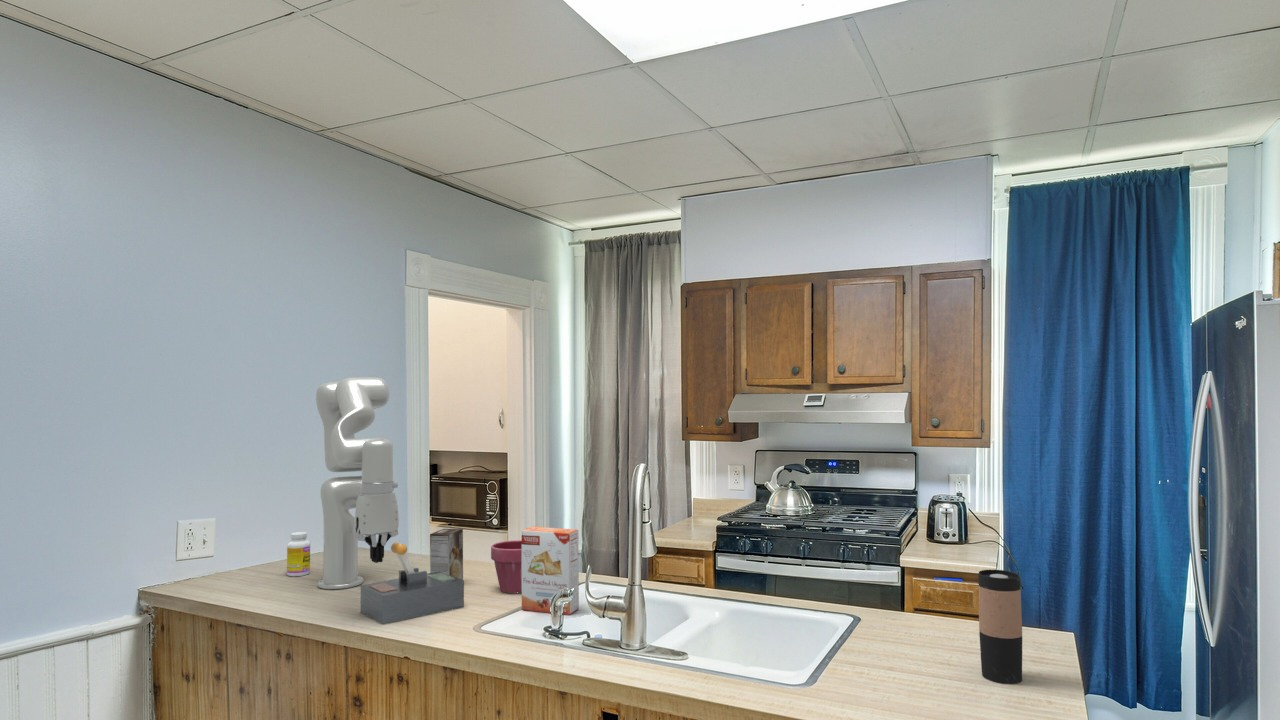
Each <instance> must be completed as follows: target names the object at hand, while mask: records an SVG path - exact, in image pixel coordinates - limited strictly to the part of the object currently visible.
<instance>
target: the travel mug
mask: <svg viewBox="0 0 1280 720" xmlns="http://www.w3.org/2000/svg"><path fill="white" fill-rule="evenodd" d="M977 575H978V576H977V577H978V578H977V579H978V583H977V584H978V623H979V624H978V631H979V633H978V634H979V645H980V648H979V650H980V663H981V664H980V665H981V667H980V668H981V675H982V678H984V679H986V680H988V681H989V682H994V683H997V684H1004V685H1015V684H1020V683H1021V682H1022V680H1023V618H1022V615H1023V614H1022V592H1021V589H1022V588H1021V576H1020V574H1019V573H1016V572H1014V571H1008V570H1004V569H982V570H979V571H978V573H977Z"/></svg>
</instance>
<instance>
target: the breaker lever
mask: <svg viewBox="0 0 1280 720" xmlns="http://www.w3.org/2000/svg"><path fill="white" fill-rule="evenodd" d="M390 550H391V551H392V553H394V554H396V555H397V558H398V559H399V562H400V564H401V565H402V568H403V570H405V572H406V574H410V573H415V572H414V569H413V568H414V567H413V565H412V563H411V561H410V558H409V557H408V555H407V551H408V547H407V546H406V545H405V544H403V543H400V542H397V541H396V542H393V543H392V544H391V546H390Z"/></svg>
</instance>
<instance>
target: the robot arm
mask: <svg viewBox="0 0 1280 720" xmlns="http://www.w3.org/2000/svg"><path fill="white" fill-rule="evenodd" d="M315 394H316V395H315V402H316V407H317V412H318V414H319V416H320V419H321V423H322V427H323V434H324V435H323V436H324V439H323V441H324V442H323V443H324V446H323V447H324V462H325V463H324V464H325V467H326V468H327V471H329V472H333V473H353V472H361V475H353V476H352V475H348V476H337V477H336V476H335V477H332V478H328V479H327V480H325V481H324V482H323V483H322V484H321V487H320V491H319V492H320V500H321V507H322V517H323V568H322V569H323V573H322V574H323V578H322V579H320V580H319V581H317V587H318V588H320V589H324V590H343V589H348V588H349V589H350V588H354V587H356V586H361V585H363V583H364V578H363V577H362V576H360V575H359V573H358V570H359V569H358V568H359V566H358V564H359V562H358V561H359V556H358V555H359V550H358V549H359V541H361V542H365V543H366V544H368V546H369V551H370V552H369V558H370V560H371V562H372V563H375V564H377V563H383V560H384V558H385V546H386V545H387V543H388V541H389V540H390V539H391V538H393V537H397V536H398V535H399V521H400V518H399V505H398V501H397V495H396V493H395V492H394V490H395V489H396V488H398V486H399V484H398V482H394V475H393V474H394V446H393V443H392V441H390V440H389V439H387V438H385V437H360V438H359V437H358V438H357V437H355V434H357V433H359V432H361V431H363V430H365V429H367V428H369V427H370V426H372V424H373V423H374V421H375V419H376V412H375V409H380V408H383V407H384V406H386V405H387V404H388V402H389V399H390V389H389V385H388V383H387V381H386V380H385V379H383V378H381V377H379V376H378V377H377V376H376V377H373V376H372V377H370V376H369V377H364V376H363V377H359V376H358V377H357V376H355V377H346V378H344V379H341V380H340V381H329V382H325V383H322V384H320V385H319V386H318V387H317V389H316V393H315ZM351 509H352V510H353V509H355V510H354V515H353V514H352V513H350V511H349V510H351ZM376 535H377V536H376Z"/></svg>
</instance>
